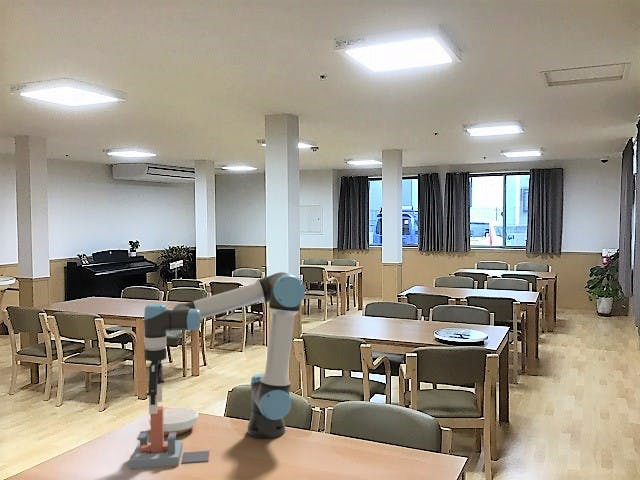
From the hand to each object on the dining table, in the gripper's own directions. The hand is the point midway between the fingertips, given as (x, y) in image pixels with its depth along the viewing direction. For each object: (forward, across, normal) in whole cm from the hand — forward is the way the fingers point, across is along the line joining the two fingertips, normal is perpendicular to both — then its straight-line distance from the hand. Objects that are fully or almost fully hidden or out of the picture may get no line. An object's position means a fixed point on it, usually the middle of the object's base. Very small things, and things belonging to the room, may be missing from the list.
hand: (155, 407), depth 203 cm
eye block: (+18, 0, 0) cm, 18 cm away
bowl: (+18, -28, +4) cm, 34 cm away
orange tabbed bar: (+18, 0, 0) cm, 18 cm away
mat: (+18, +2, +14) cm, 23 cm away
